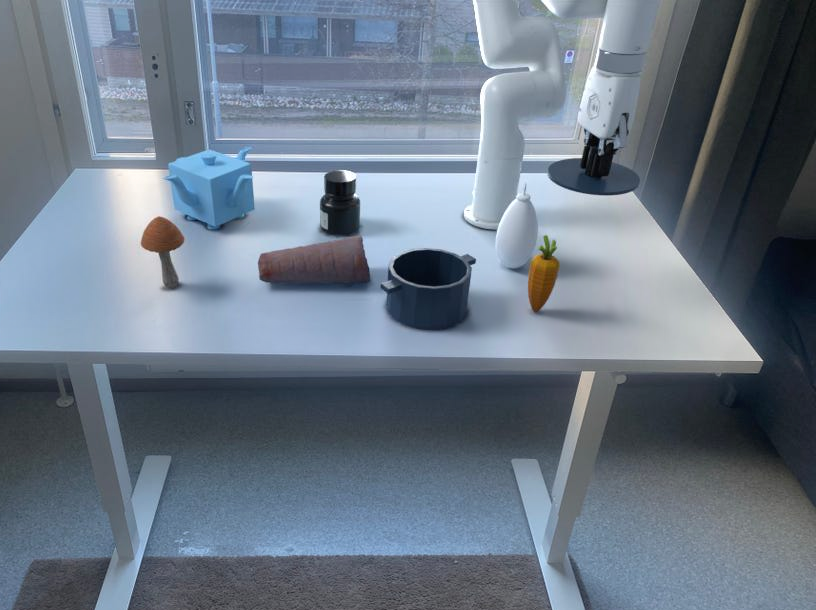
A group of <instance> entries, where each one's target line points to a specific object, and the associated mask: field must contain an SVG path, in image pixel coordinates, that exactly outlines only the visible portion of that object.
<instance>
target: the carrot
mask: <svg viewBox="0 0 816 610" xmlns="http://www.w3.org/2000/svg"><path fill="white" fill-rule="evenodd" d="M542 238H543V243H544V245H542V244H540V245H539V246H538V247H537V250H538V251H540V252H541V254H540V253H539V254H536V255H535V256H534V257H533V258H532V259H531V261H530V264H529V269H528V270H529V271H528V279H527V298H528V302H529V305H530V307H531V310H532V311H533V313H534V314H537V313H538V312H540V311H541V309H542V308H544V306H545V305H546V303H547V301H548V300H549V299H550V296H551V295H552V292H553V290H554V288H555V285H556V282H557V279H558V274H559V271H560V266H561V263H560V261H559V260H558V259H557V257H556V256H554V255H553V254H555V251H556V250H557V249H558V246H557V241H556V240H555V239H552V240H551V245H550V240H549V236H548V235H547V234H544V235H542Z"/></svg>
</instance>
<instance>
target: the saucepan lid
mask: <svg viewBox="0 0 816 610" xmlns="http://www.w3.org/2000/svg"><path fill="white" fill-rule="evenodd" d="M598 150H599V143H595V144H591V146H590V151H589V155H588V159H587V164H586V168H585V169H582V168H580V164H581V159H582V157H575V158H574V157H573V158H564V159H560V160H557V161H555V162H553V163H552V164H550V165H549V166H548V167H547V171H546V173H547V178H548V179H549V180H550V181H551V182H552V183H554V184H555V185H557V186H559V187H561V188H563V189H566V190H568V191H572V192H575V193H578V194H585V195H591V196H608V197H609V196H620V195H625V194H628V193H632V192H634V191H635V190H637V189H638V188H639V187H640V183H641V178H640V176H639V175H638V173H636V172H635V170H633V169H631V168H629V167H627V166H625V165H623V164H620V163H616V162H613V161H612V164H611V168H610V172H609V175H608V176H603V177H592V176H591V170H592V166H593V162H594V157H595V154H598Z"/></svg>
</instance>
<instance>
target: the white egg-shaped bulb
mask: <svg viewBox="0 0 816 610" xmlns="http://www.w3.org/2000/svg"><path fill="white" fill-rule="evenodd" d="M526 192H527V182H525V183H524V185H523V189H522V192H520V193H517V196H516V199H515V200H514V201H513V202H512V203H511V204H510V205H509V207H508V208H507V210H506V211H505V213H504V215H503V217H502V219H501V221H500V224H499V227H498V230H496V236H495V252H496V255H497V258H498V261H499V262H500V263H501V264H503V266H504V267H506V268H508V269H519V268H520V267H523V266H524V265H526V264H527V262H528V261H529V260H530V258H531V257H532V255H533V254H534V251H535V248H536V246H537V241H538V232H539V229H538V227H539V225H538V217H537V212H536V209H535V206H534V204H533V202H532V200H531V195H530V194H528V193H526Z"/></svg>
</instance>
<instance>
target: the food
mask: <svg viewBox="0 0 816 610" xmlns="http://www.w3.org/2000/svg"><path fill="white" fill-rule="evenodd" d="M257 269H258V278H259V281H261V282H264V283H267V284H268V283H269V284H275V285H276V284H277V285H280V284H284V285H285V284H286V285H291V284H292V285H298V284H300V285H304V284H305V285H307V284H363V283H370V282H371V273H370V266H369V263H368V259H367V257H366V251H365V247H364V239H363V236H362V235H354V236H350V237H344V238H339V239H336V240H331V241H330V240H328V241H325V242H319V243H314V244H308V245H301V246H300V245H299V246H295V247H292V248H284V249H277V250H271V251H266V252H261V253H260V255H259V258H258V260H257Z"/></svg>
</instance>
